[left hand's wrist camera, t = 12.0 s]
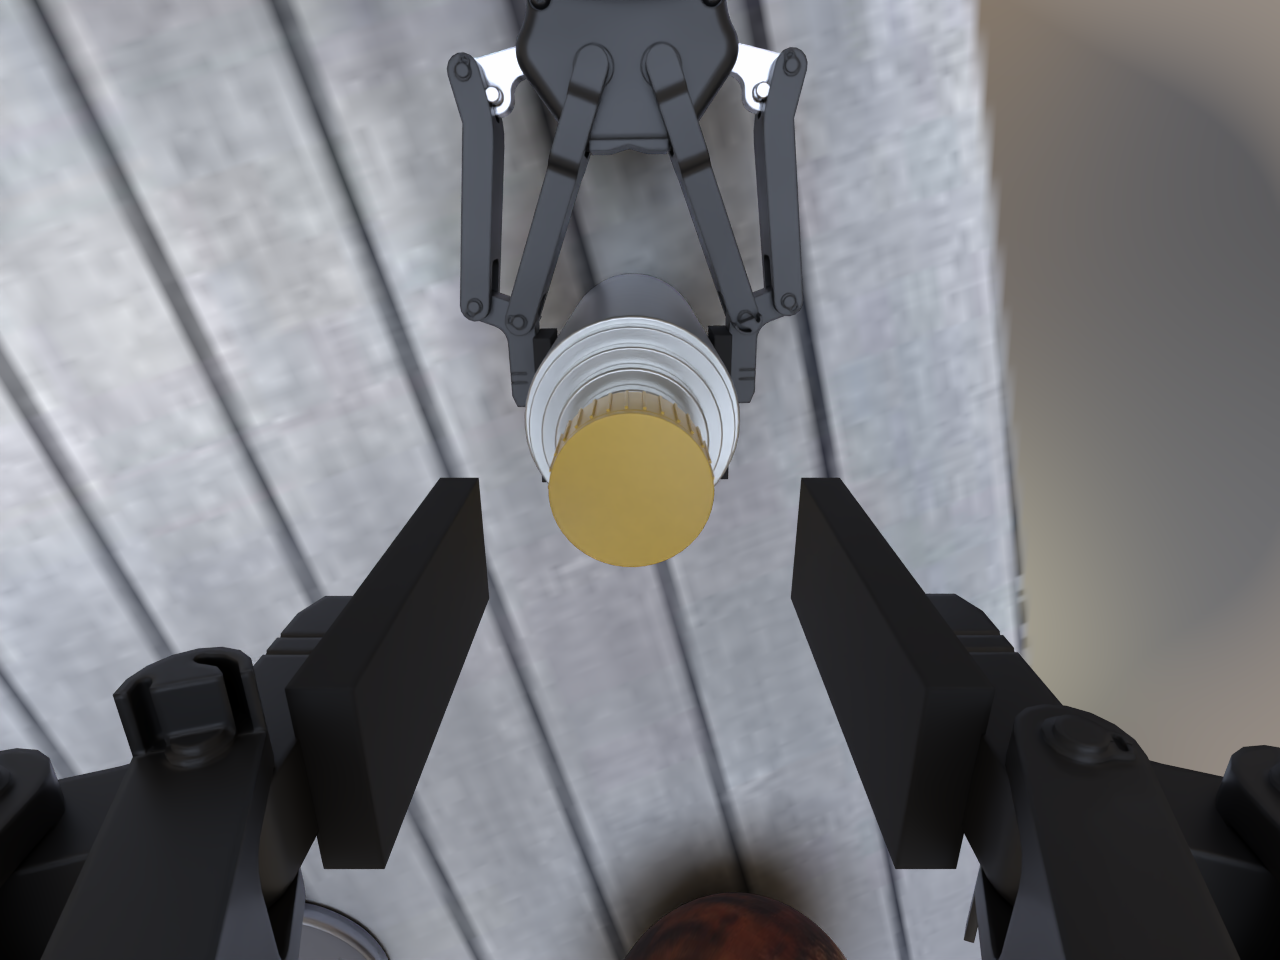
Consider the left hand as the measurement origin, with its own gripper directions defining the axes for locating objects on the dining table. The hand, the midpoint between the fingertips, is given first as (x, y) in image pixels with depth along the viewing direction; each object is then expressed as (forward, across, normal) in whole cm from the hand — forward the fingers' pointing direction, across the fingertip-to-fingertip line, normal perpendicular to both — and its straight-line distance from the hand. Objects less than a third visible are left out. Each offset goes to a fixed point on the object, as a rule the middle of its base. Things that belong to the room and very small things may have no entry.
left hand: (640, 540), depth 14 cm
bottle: (+25, 0, 0) cm, 25 cm away
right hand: (+18, 0, -5) cm, 19 cm away
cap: (+3, 0, 0) cm, 3 cm away
